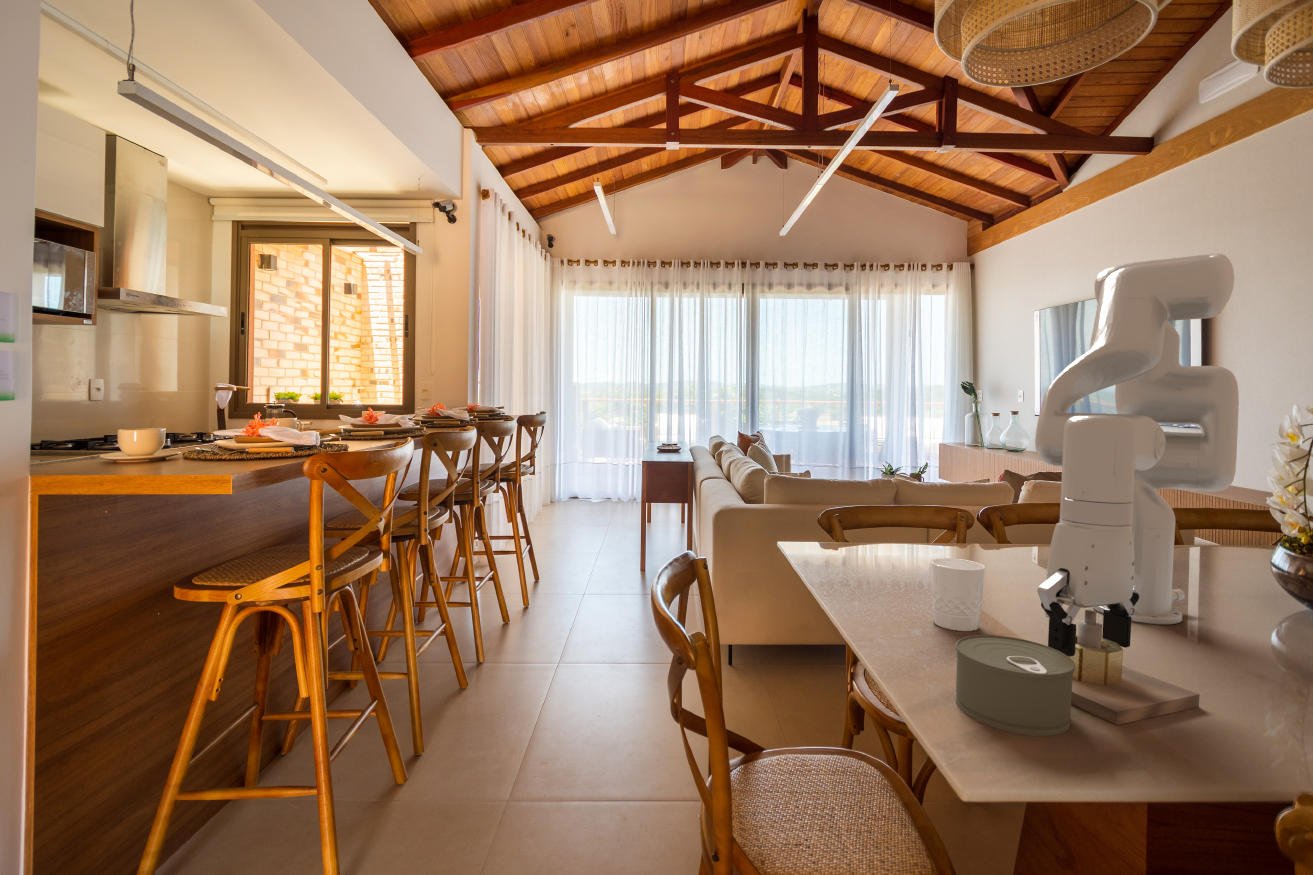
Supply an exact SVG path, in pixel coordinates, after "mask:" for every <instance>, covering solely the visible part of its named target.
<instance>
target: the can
mask: <svg viewBox="0 0 1313 875" xmlns="http://www.w3.org/2000/svg"><path fill="white" fill-rule="evenodd" d="M955 651H956V679H955V680H956V681H955V682H956V684H955V686H956V688H955V690H956V692H955V693H956V694H955V703H956V705H957V707H958V709H960V711H961V712H963V713H964V715H966V716H968V717H969V718H971V719H973V720H975V721H976V722H979V723H980V724H983V725H986V726H989V727H991V728H994V729H997V730H1000V731H1004V732H1008V733H1011V734H1018V735H1022V736H1023V735H1024V736H1031V737H1050V736H1056V735H1061V734H1063V733H1066V732H1067V731H1068V730H1069V729H1070V727H1071V710H1072V704H1071V697H1072V681H1073V673H1074V671H1075V663H1074V662H1073V660H1072V659H1071V658H1070V657H1068V656H1067V655H1065V654H1064V653H1062V652H1060V651H1058V650H1056V649H1053V648H1051V647H1048V645H1045V644H1042V643H1038V642H1035V641H1031V640H1027V639H1022V638H1018V637H1011V636H1004V635H992V634H980V635H979V634H978V635H975V634H974V635H969V636H965V637H962V638H960V639H958V640H957V641H956V642H955Z"/></svg>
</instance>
